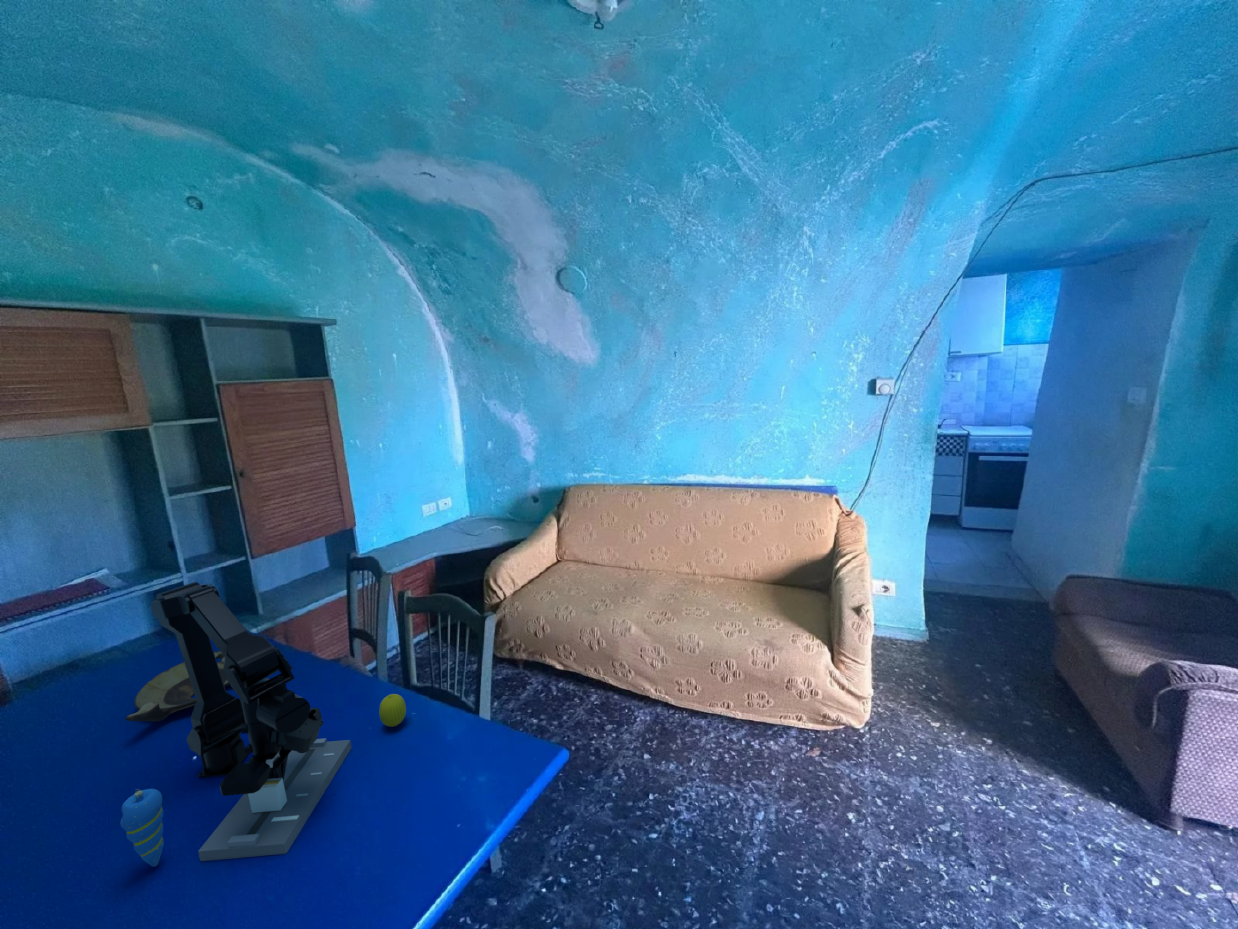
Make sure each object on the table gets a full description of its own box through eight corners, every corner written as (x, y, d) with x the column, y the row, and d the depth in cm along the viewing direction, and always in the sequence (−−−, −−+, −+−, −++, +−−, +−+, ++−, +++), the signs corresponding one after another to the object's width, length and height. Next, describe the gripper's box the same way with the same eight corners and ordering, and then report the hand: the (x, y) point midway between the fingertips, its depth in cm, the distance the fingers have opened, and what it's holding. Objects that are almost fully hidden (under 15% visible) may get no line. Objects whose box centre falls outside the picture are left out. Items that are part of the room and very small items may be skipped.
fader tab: (252, 812, 91) (246, 788, 90) (259, 803, 93) (253, 779, 92) (280, 810, 91) (275, 785, 90) (287, 801, 93) (282, 777, 92)
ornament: (153, 852, 86) (133, 777, 83) (185, 849, 87) (166, 774, 84) (127, 882, 81) (104, 804, 78) (160, 879, 82) (139, 800, 79)
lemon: (398, 736, 112) (393, 704, 110) (376, 733, 113) (371, 701, 111) (413, 718, 117) (408, 688, 115) (392, 716, 118) (387, 686, 116)
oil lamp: (274, 671, 139) (269, 646, 137) (148, 751, 110) (140, 720, 109) (214, 661, 145) (208, 637, 143) (80, 735, 116) (72, 706, 115)
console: (200, 861, 84) (196, 846, 84) (284, 753, 108) (282, 741, 107) (286, 853, 85) (283, 838, 84) (351, 748, 109) (349, 735, 108)
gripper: (279, 747, 83) (295, 826, 86) (334, 678, 101) (346, 745, 104) (209, 753, 82) (227, 833, 85) (277, 683, 101) (290, 750, 104)
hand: (279, 786), depth 95 cm, fingers closed
